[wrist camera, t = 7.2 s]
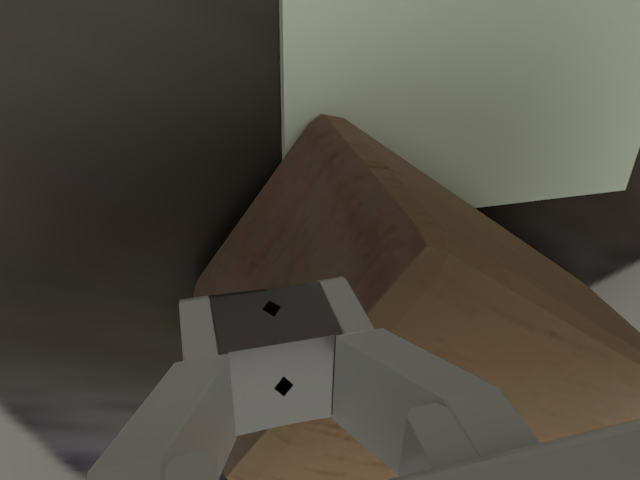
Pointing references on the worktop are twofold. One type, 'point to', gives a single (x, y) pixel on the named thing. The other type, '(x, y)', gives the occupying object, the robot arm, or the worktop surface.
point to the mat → (474, 88)
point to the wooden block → (421, 297)
